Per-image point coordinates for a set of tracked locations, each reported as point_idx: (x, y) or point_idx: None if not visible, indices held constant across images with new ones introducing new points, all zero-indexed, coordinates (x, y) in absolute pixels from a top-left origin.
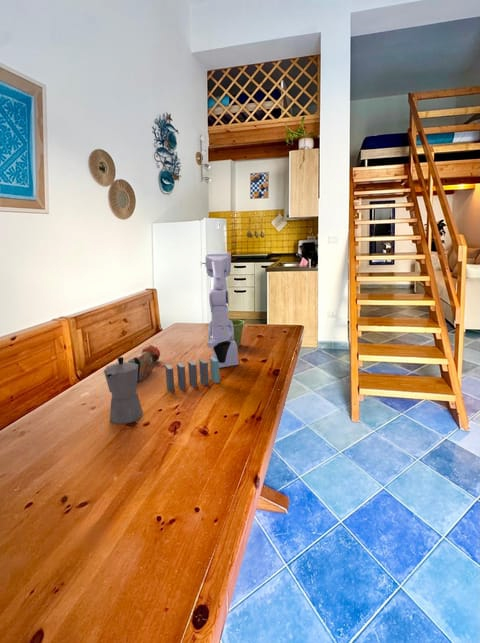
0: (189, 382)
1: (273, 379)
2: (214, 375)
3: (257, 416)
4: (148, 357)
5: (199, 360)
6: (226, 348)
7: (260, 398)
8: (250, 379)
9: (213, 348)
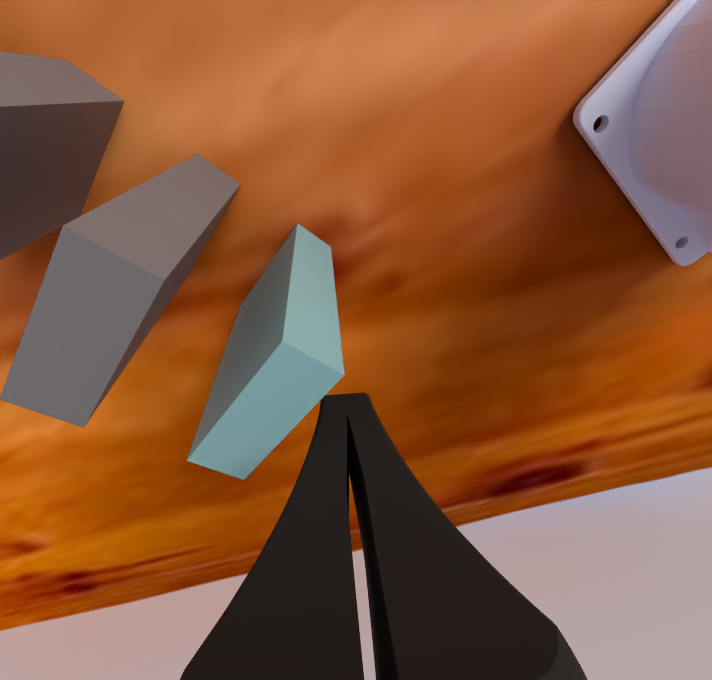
0: (61, 61)
1: (440, 502)
2: (232, 334)
3: (87, 581)
4: None
5: (66, 235)
6: (374, 658)
7: (222, 540)
8: (404, 438)
9: (231, 612)
